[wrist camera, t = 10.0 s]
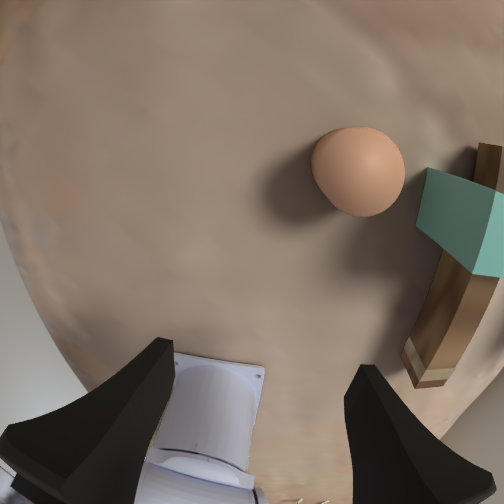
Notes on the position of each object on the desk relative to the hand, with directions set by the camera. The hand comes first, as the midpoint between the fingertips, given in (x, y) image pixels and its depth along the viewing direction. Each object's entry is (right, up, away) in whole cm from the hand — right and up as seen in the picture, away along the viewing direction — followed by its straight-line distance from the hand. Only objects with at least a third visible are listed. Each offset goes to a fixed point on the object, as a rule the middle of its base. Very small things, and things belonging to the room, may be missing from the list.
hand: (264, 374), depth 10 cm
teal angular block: (+15, +8, +6) cm, 18 cm away
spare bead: (+5, +10, +6) cm, 12 cm away
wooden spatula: (+15, +4, +7) cm, 17 cm away
